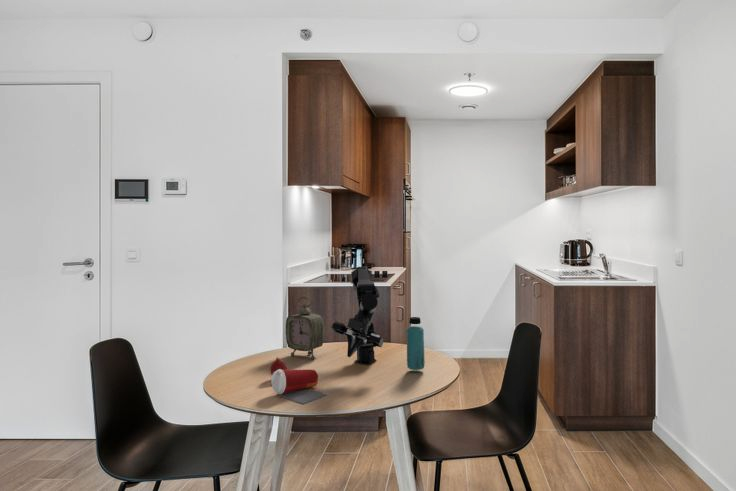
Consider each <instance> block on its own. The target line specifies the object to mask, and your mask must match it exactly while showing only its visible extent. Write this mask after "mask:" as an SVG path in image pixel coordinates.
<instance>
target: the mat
mask: <svg viewBox="0 0 736 491" xmlns="http://www.w3.org/2000/svg"><path fill="white" fill-rule="evenodd" d="M276 395H277V396H278V397H281V398H285V399H287V400H290V401H292V402H295V403H298V404H301V405H305V404H308V403H311V402H313V401H315V400H318V399H321V398H323V397H326V396H327V395H328V394H327V393H324V392H322V391H320V390H319V391H318V390H315V389H312V388H305V389H299V390H294V391H288V392H283V393H282V394H278V393H276Z"/></svg>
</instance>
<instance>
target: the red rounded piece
mask: <svg viewBox="0 0 736 491" xmlns="http://www.w3.org/2000/svg"><path fill="white" fill-rule="evenodd" d="M278 369H281V370H288V368H287V365H286V363H285V362H284V361H283V360H282V359H281V358H279V357H278V356H276V358H275V360H274V361H273V362H272V363H271V364H270V368H269V373H270V374H271V376H272V375H273V373H274V372H275V371H277V370H278Z"/></svg>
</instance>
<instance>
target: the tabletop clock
mask: <svg viewBox="0 0 736 491" xmlns="http://www.w3.org/2000/svg"><path fill="white" fill-rule="evenodd" d="M302 299H306V300H308V301H309V303H310V304H309V305H307V304H306V303H303V304H301V303H300V300H302ZM297 304H298V305H299V306H300V307H301V308H300V309H299V311H298V313H296V314H293V315H288V316H287V317H286V320H285V340H286V345H287V347H288V348H290V350H293V351H292V352H291V353H290V356H291V357H294V356H295V353H296V351H299V352H307V355H308V356H310V359H311V360H314V359H315V355H314V350H315V349H318V348H320V347H322V346H323V344H324V342H325V322H324V321H325V320H324V317H323V316H321V315H320V314H318V313H312V310H311V309H310V308H309V307H310V306H312V301H311V299H310V298H309V297H307V296H301V297H299V298H298V299H297Z"/></svg>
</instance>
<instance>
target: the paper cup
mask: <svg viewBox="0 0 736 491" xmlns="http://www.w3.org/2000/svg"><path fill="white" fill-rule="evenodd" d="M318 382H319V376H318V373H317V371H316V370H315V369H287V370H281V369H278V370H277V371H275V372H274V373H273V375H272V374H271V386H272V390H273V391H274V393H276V394H282V393H283V392H288V391H294V390H299V389H305V388H309V389H311V388H314V387H316V386H317V385H318Z"/></svg>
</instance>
